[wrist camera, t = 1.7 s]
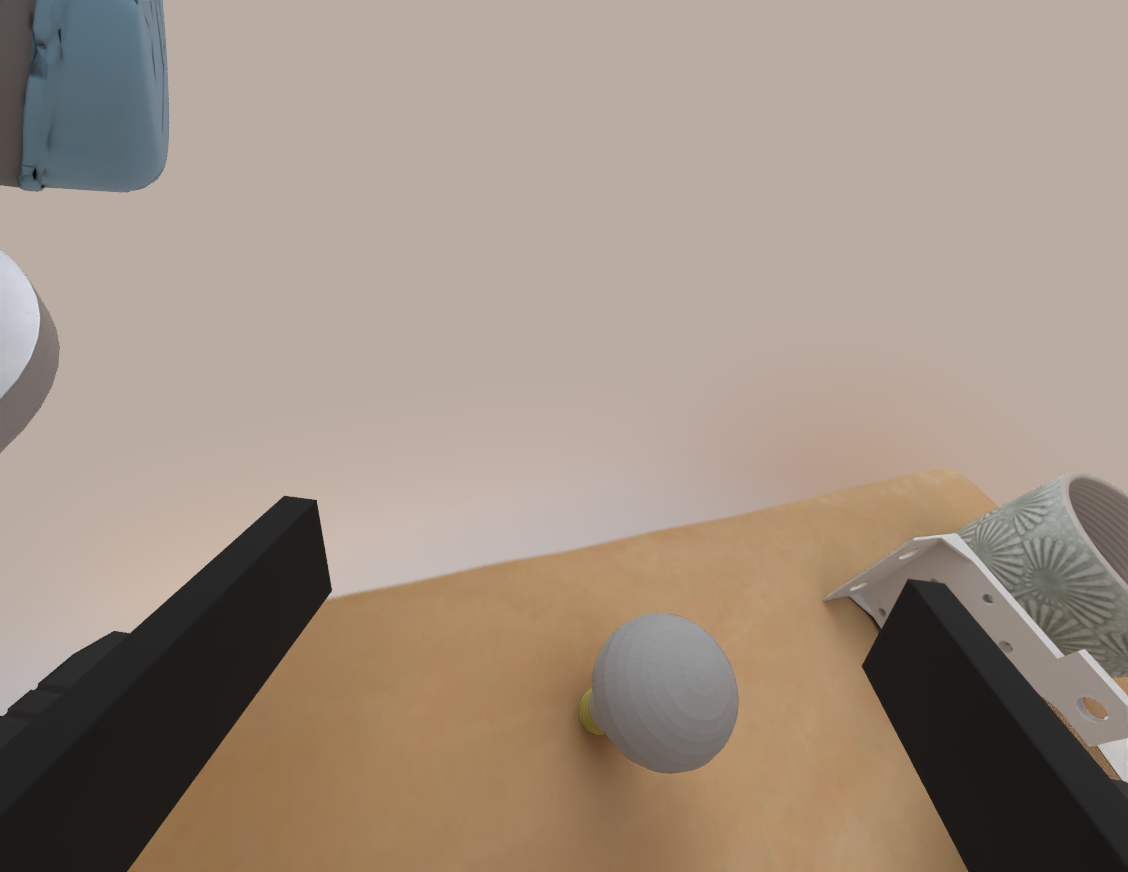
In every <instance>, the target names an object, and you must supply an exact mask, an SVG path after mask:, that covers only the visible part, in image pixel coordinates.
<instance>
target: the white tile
mask: <svg viewBox="0 0 1128 872" xmlns="http://www.w3.org/2000/svg"><path fill="white" fill-rule="evenodd" d="M1107 719H1108V715H1107V716H1106V717H1105V718H1104V720H1107ZM1097 746H1098V748H1099V749H1100V751H1101V752H1102V753H1103V755H1104V756H1105V757H1106V759H1107V760H1108V761H1109V763H1110V764H1111V766H1112V767H1113V768H1114V770H1115V771H1116V772H1117V774H1118V775H1119V776H1120V778H1121V779H1122V781H1126V782H1127V783H1128V738H1126V739H1122V740H1117V741H1113V742H1109V743H1104V744H1100V745H1097Z"/></svg>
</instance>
